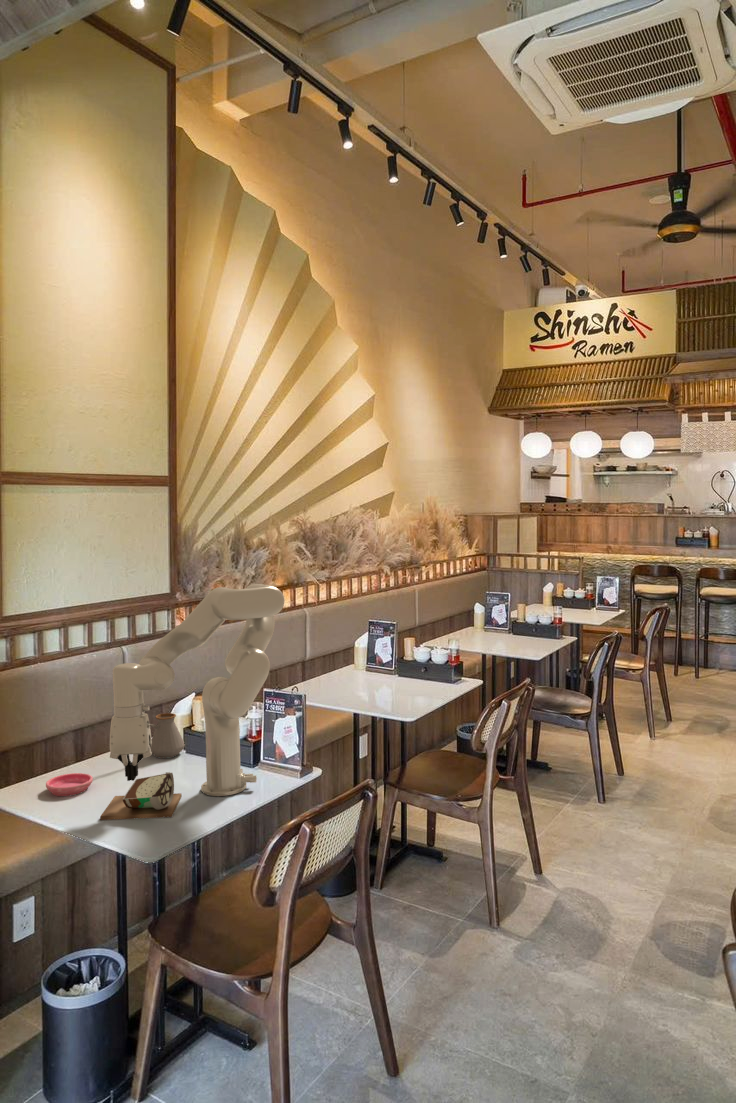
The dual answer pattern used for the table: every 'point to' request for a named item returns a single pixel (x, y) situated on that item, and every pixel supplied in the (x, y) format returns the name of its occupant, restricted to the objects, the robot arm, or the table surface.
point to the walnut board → (137, 810)
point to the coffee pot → (166, 737)
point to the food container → (151, 792)
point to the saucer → (69, 784)
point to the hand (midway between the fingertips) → (131, 778)
